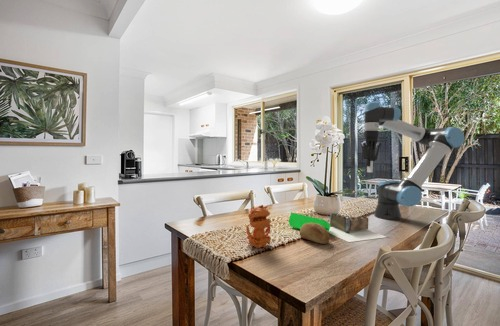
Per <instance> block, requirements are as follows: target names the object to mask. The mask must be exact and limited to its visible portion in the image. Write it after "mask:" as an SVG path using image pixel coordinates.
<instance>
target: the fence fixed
mask: <svg viewBox="0 0 500 326" xmlns="http://www.w3.org/2000/svg"><path fill="white" fill-rule="evenodd" d="M329 217H330V218H329V224H331V226H334V227H336V228H338V229H341V230H343V231H345V229H346V217H347V216H345V215H343V216H342V215H341V214H337V213H336V212H335V213H333V212H330V215H329Z"/></svg>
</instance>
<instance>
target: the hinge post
mask: <svg viewBox="0 0 500 326" xmlns="http://www.w3.org/2000/svg"><path fill="white" fill-rule="evenodd" d="M345 217H346V229H345V233H350V219H351V217H349V216H345Z"/></svg>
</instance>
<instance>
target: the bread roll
mask: <svg viewBox="0 0 500 326" xmlns="http://www.w3.org/2000/svg"><path fill="white" fill-rule="evenodd" d="M298 234H299V237H300V238H302V239H305V240H308V241H312V242H315V243H318V244H322V245H323V244H324V245H326V244H329V242H330V233H328V232H327V230H326V229H325V228H324V227H323V226H321V225H320V224H317V223H306V224H303V225H302V227H301V229H299V233H298Z"/></svg>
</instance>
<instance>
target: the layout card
mask: <svg viewBox="0 0 500 326" xmlns="http://www.w3.org/2000/svg"><path fill="white" fill-rule="evenodd" d="M327 232H328V234H329V235H332V236H334V237H336V238H338V239H340V240H343V241H345V242H347V243H354V242H355V243H356V242H363V241H370V240H377V239H385V238H387V236H386V235H382V234H380V233H378V232H375V231H372V230H369V229H367V230H360V231H354V232H350V233H345V231H343V230H341V229H338V228H336V227H334V226H333V227H330V229H329V231H328V230H327Z"/></svg>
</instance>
